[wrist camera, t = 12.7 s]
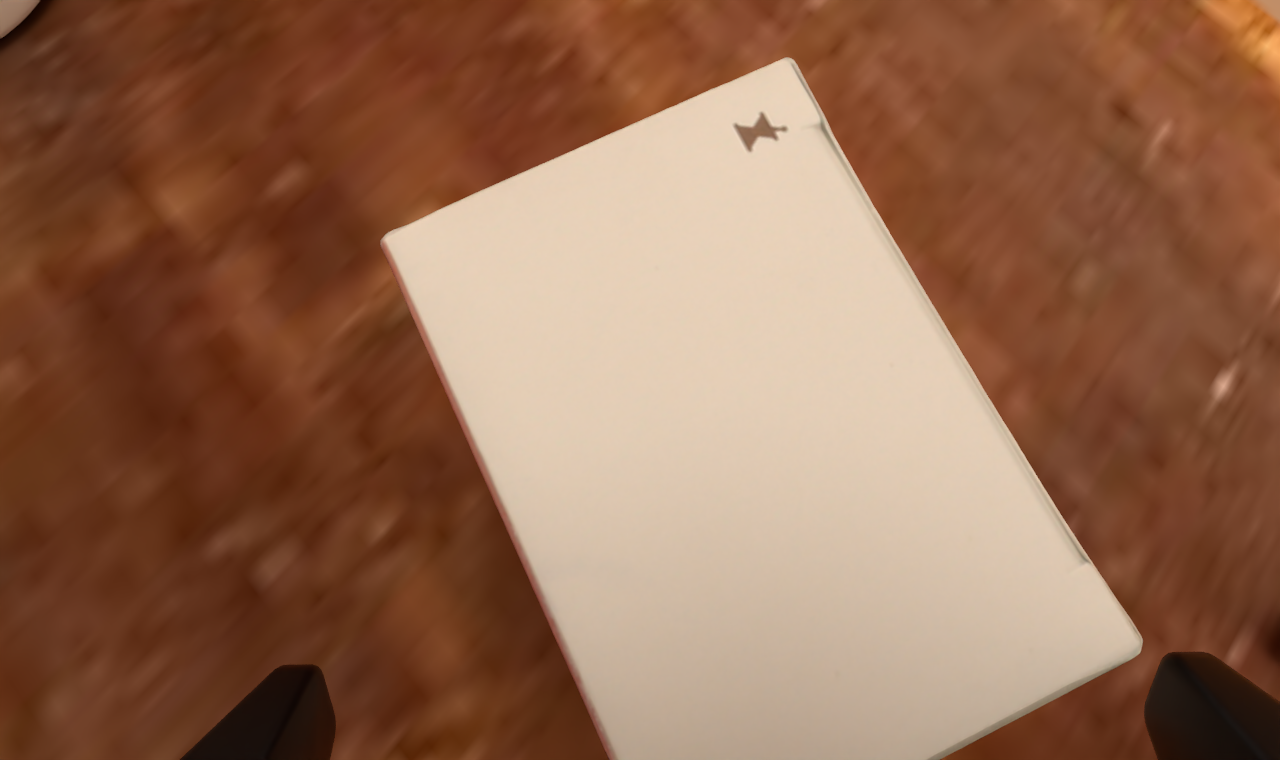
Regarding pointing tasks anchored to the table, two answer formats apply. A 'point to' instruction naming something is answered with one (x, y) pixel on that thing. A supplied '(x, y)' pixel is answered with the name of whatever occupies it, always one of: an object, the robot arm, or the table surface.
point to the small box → (748, 448)
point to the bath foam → (14, 13)
